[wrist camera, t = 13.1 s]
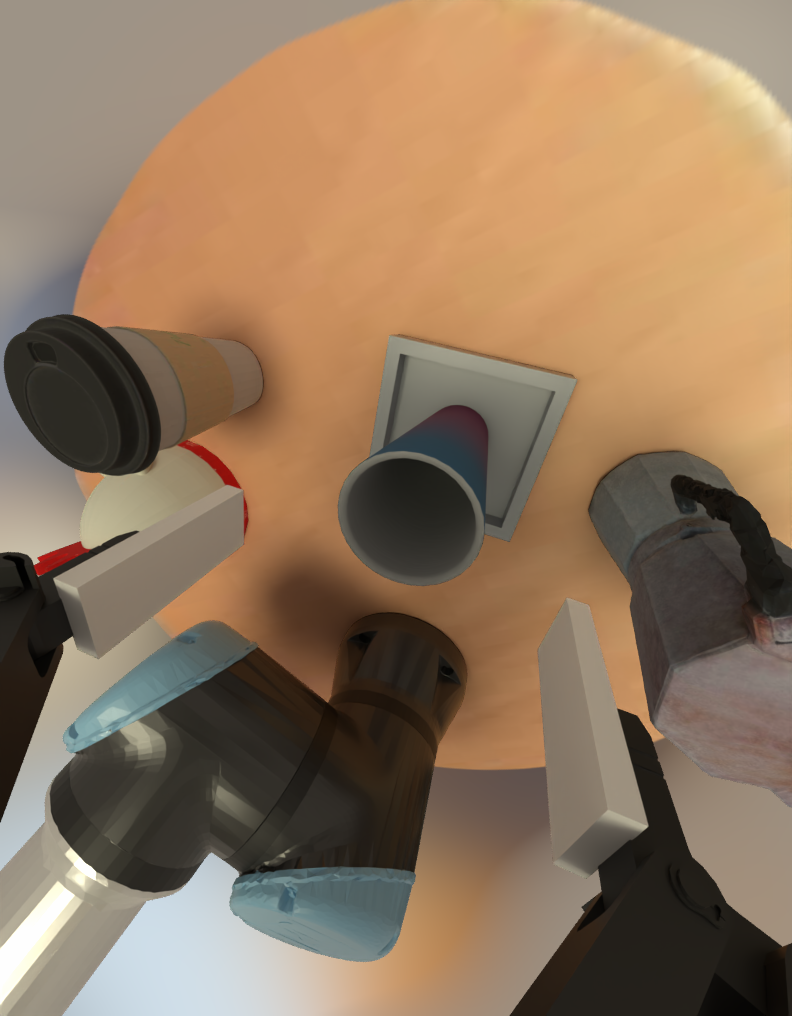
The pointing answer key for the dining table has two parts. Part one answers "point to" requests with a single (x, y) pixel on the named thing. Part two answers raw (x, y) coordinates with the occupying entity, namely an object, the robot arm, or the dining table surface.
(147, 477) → the kitchen timer
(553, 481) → the dining table surface
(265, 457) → the dining table surface
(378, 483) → the cup
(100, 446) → the coffee cup
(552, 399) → the tray
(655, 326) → the dining table surface
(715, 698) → the moka pot
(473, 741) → the dining table surface
